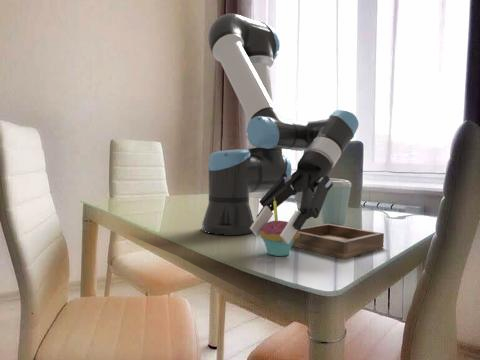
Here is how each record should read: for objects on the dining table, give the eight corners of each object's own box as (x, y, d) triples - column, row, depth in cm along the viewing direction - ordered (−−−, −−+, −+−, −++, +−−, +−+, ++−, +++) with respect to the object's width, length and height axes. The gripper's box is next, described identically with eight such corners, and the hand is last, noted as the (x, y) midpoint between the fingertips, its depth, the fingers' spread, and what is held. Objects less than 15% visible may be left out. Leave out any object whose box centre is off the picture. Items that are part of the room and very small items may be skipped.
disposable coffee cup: (356, 226, 113) (358, 178, 112) (339, 230, 105) (340, 179, 105) (327, 221, 120) (328, 177, 120) (309, 225, 113) (310, 178, 112)
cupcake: (251, 251, 78) (252, 197, 78) (280, 246, 83) (281, 195, 83) (277, 260, 71) (278, 201, 71) (307, 254, 76) (308, 199, 76)
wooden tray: (287, 244, 86) (287, 230, 86) (327, 236, 96) (327, 223, 96) (343, 259, 74) (344, 242, 74) (383, 248, 84) (383, 233, 84)
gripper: (364, 173, 78) (316, 257, 69) (292, 170, 94) (245, 237, 85) (351, 148, 74) (298, 233, 65) (278, 149, 91) (227, 217, 81)
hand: (268, 235), depth 75 cm, fingers closed on cupcake, 8 cm apart
